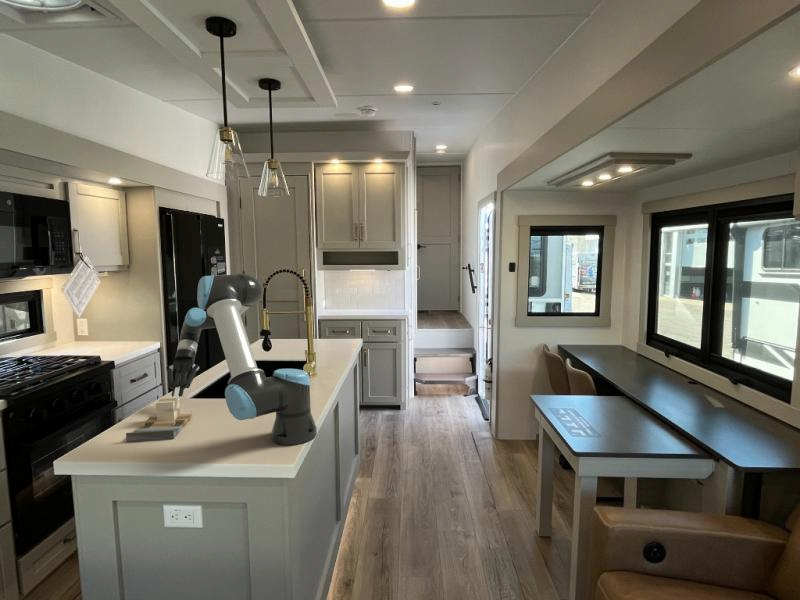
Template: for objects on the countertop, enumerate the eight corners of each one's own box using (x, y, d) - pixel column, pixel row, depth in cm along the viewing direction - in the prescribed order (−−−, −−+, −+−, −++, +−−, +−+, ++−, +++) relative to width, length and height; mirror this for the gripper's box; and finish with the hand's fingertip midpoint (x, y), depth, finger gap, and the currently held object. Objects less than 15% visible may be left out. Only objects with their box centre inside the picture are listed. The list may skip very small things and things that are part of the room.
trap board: (151, 419, 171) (150, 412, 170) (192, 417, 173) (192, 409, 172) (126, 442, 151) (125, 433, 150) (173, 438, 153) (172, 430, 152)
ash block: (163, 415, 171) (162, 397, 170) (179, 414, 172) (178, 396, 171) (157, 421, 165) (155, 403, 164) (174, 420, 166) (172, 402, 165)
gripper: (204, 356, 194) (195, 406, 179) (172, 358, 192) (160, 408, 177) (200, 347, 188) (189, 398, 173) (167, 348, 186) (154, 400, 171)
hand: (175, 403), depth 175 cm, fingers closed
